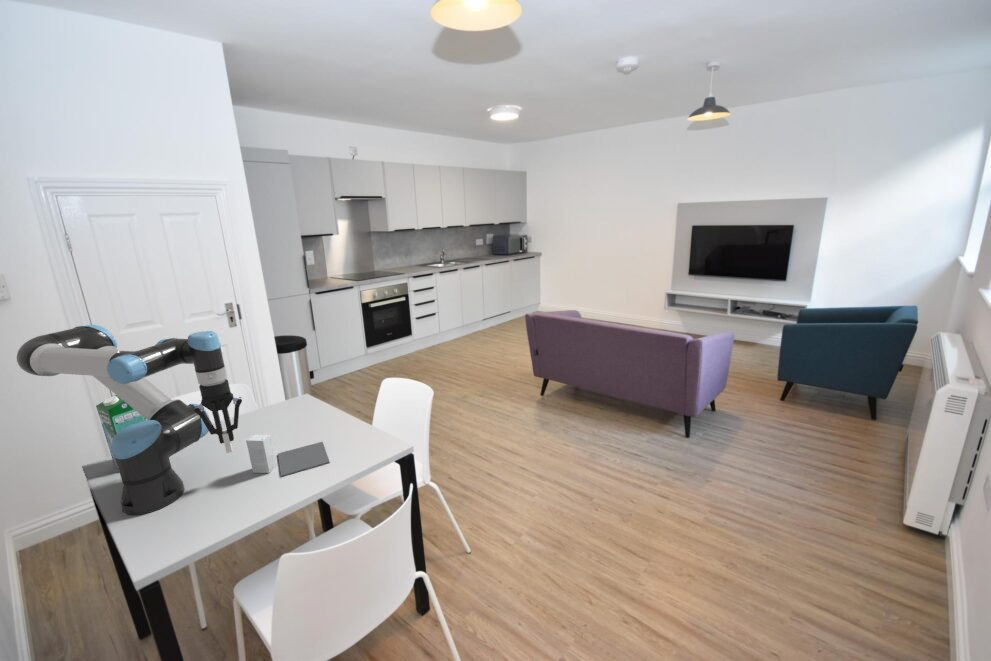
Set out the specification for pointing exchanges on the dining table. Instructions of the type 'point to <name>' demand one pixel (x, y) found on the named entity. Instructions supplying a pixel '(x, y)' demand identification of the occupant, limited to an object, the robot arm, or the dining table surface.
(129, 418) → the milk carton
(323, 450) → the mat
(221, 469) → the dining table surface
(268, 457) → the skincare box
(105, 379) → the robot arm
